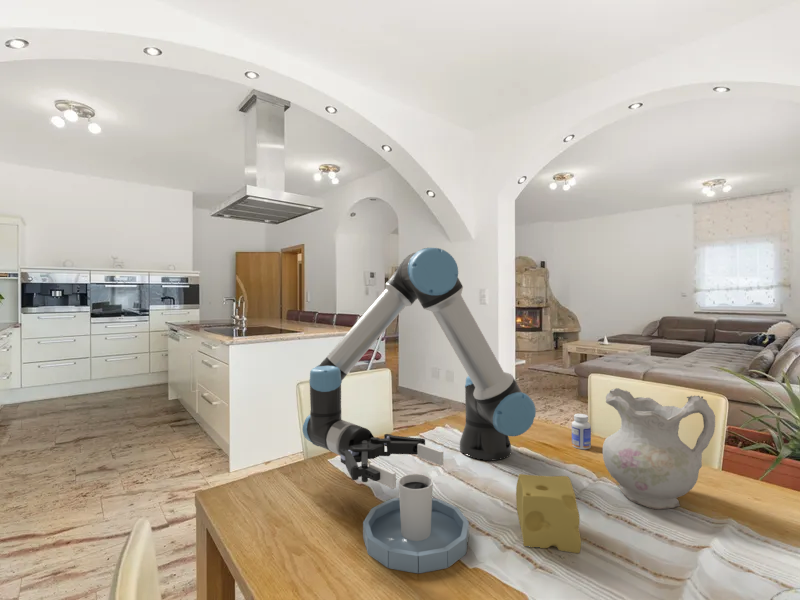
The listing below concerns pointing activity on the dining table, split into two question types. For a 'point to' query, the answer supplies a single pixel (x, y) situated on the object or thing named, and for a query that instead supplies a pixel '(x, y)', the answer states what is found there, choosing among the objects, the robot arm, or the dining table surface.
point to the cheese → (548, 512)
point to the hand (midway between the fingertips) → (419, 469)
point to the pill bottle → (581, 432)
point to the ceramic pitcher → (654, 449)
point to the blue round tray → (416, 555)
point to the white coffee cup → (415, 506)
